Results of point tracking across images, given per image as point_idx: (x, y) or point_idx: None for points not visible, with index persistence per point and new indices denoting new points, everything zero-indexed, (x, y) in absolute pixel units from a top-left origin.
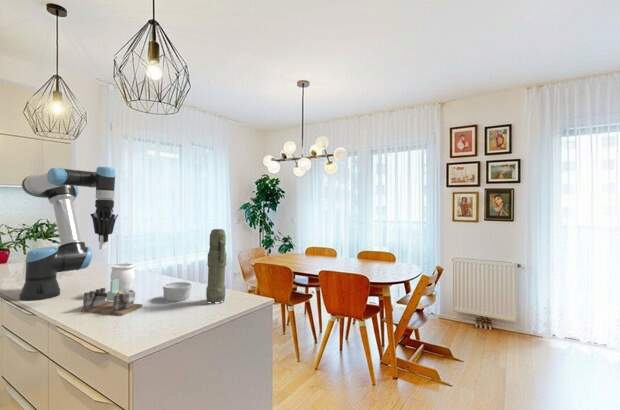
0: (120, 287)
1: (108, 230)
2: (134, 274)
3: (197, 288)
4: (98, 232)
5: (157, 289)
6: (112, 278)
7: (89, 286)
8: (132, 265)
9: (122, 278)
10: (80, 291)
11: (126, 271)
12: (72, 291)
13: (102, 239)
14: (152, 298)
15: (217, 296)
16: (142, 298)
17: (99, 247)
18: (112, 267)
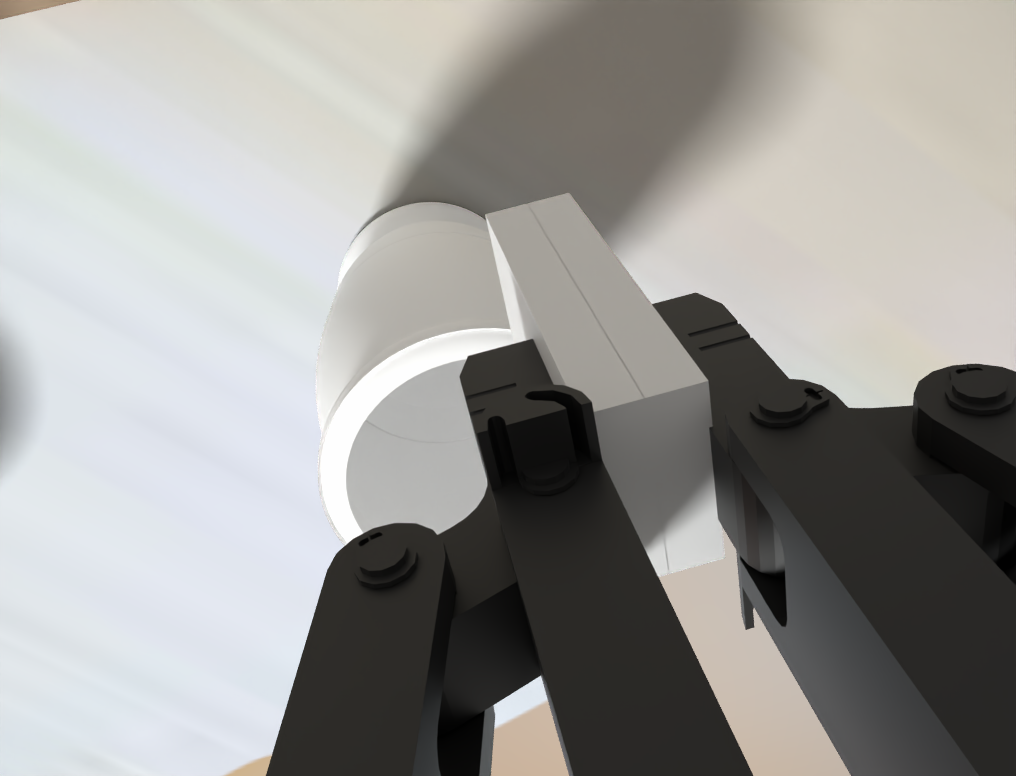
0: (359, 260)
1: (329, 671)
2: (368, 488)
3: (24, 756)
4: (847, 434)
5: (308, 563)
6: (462, 255)
7: (983, 305)
8: (348, 532)
9: (339, 316)
10: (916, 146)
11: (331, 404)
12: (991, 104)
13: (542, 339)
14: (11, 356)
15: None
16: (100, 305)
17: (577, 208)
18: (503, 325)
